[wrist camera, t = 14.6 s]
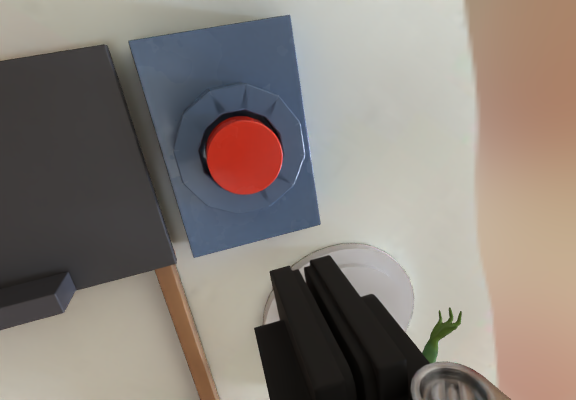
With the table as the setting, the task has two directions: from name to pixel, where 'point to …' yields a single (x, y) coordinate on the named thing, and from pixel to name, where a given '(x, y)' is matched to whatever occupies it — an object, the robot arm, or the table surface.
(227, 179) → the red push button
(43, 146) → the lid
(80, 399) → the table surface
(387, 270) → the monster figurine
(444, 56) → the table surface
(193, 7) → the table surface
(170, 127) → the button box
